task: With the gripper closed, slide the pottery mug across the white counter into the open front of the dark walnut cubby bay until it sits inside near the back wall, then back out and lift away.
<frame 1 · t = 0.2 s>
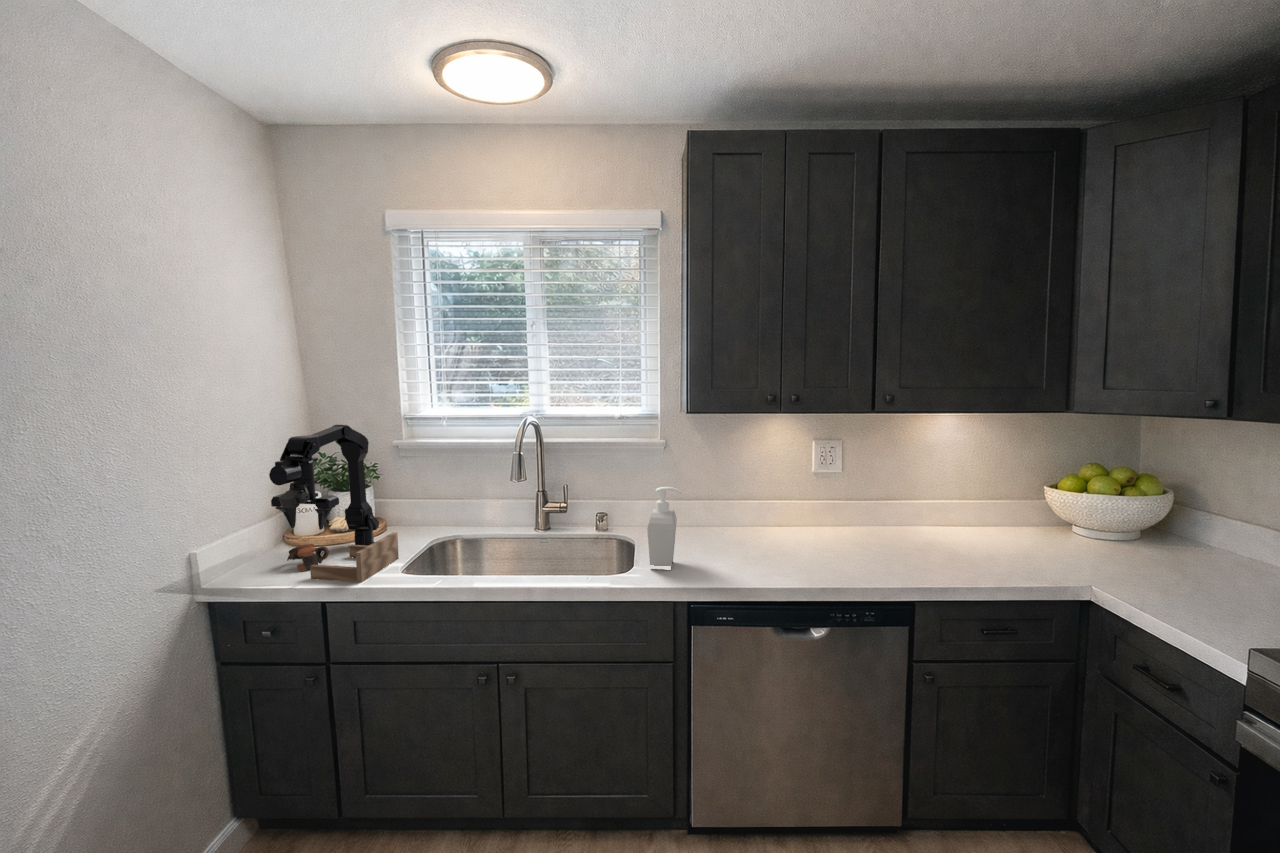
hand: (307, 528, 188), 14 cm above the worktop, tool pointing down, fingers open, 9 cm apart
soap bottle: (664, 566, 200), on the worktop
walnut bay: (354, 568, 196), on the worktop
pottery mug: (309, 566, 197), on the worktop
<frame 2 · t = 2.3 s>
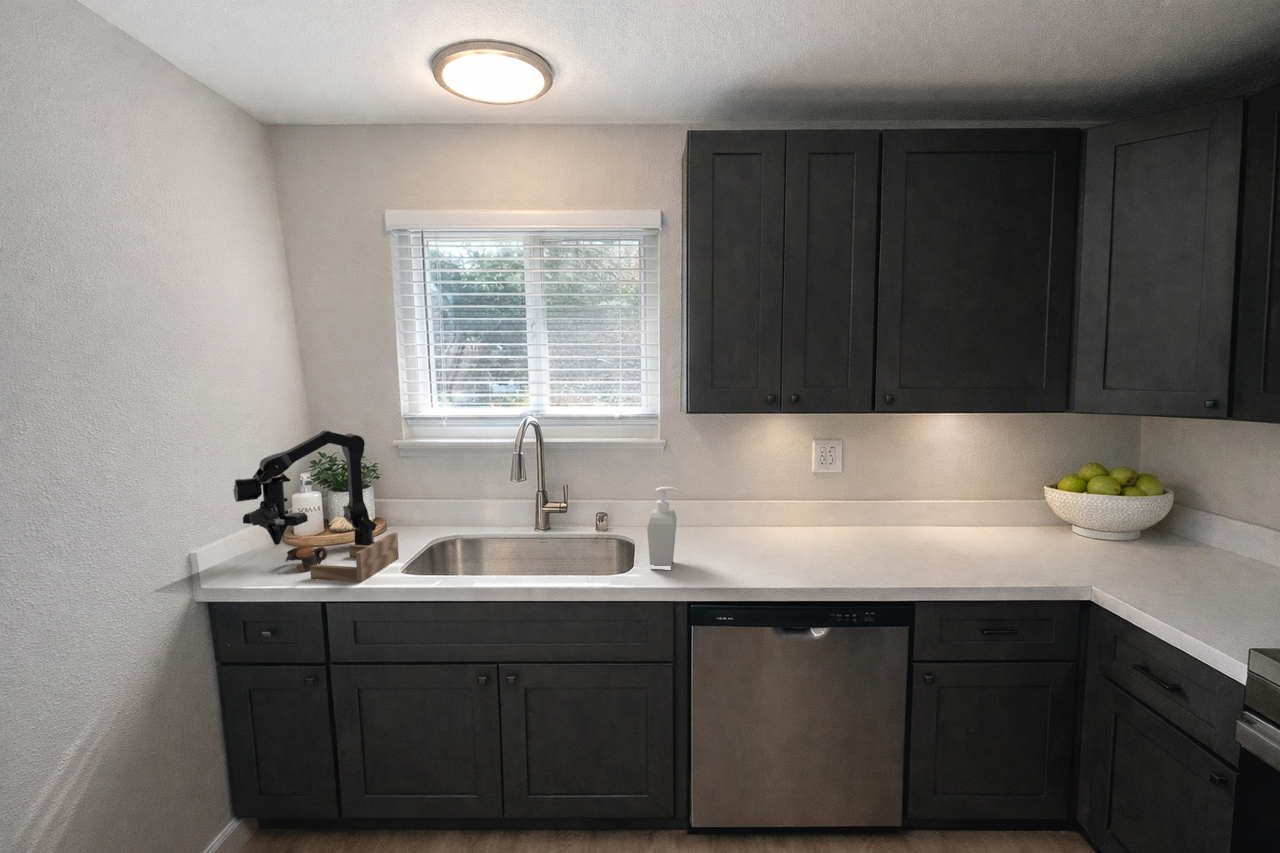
hand: (277, 544, 198), 6 cm above the worktop, tool pointing down, fingers closed
nothing on the worktop moved.
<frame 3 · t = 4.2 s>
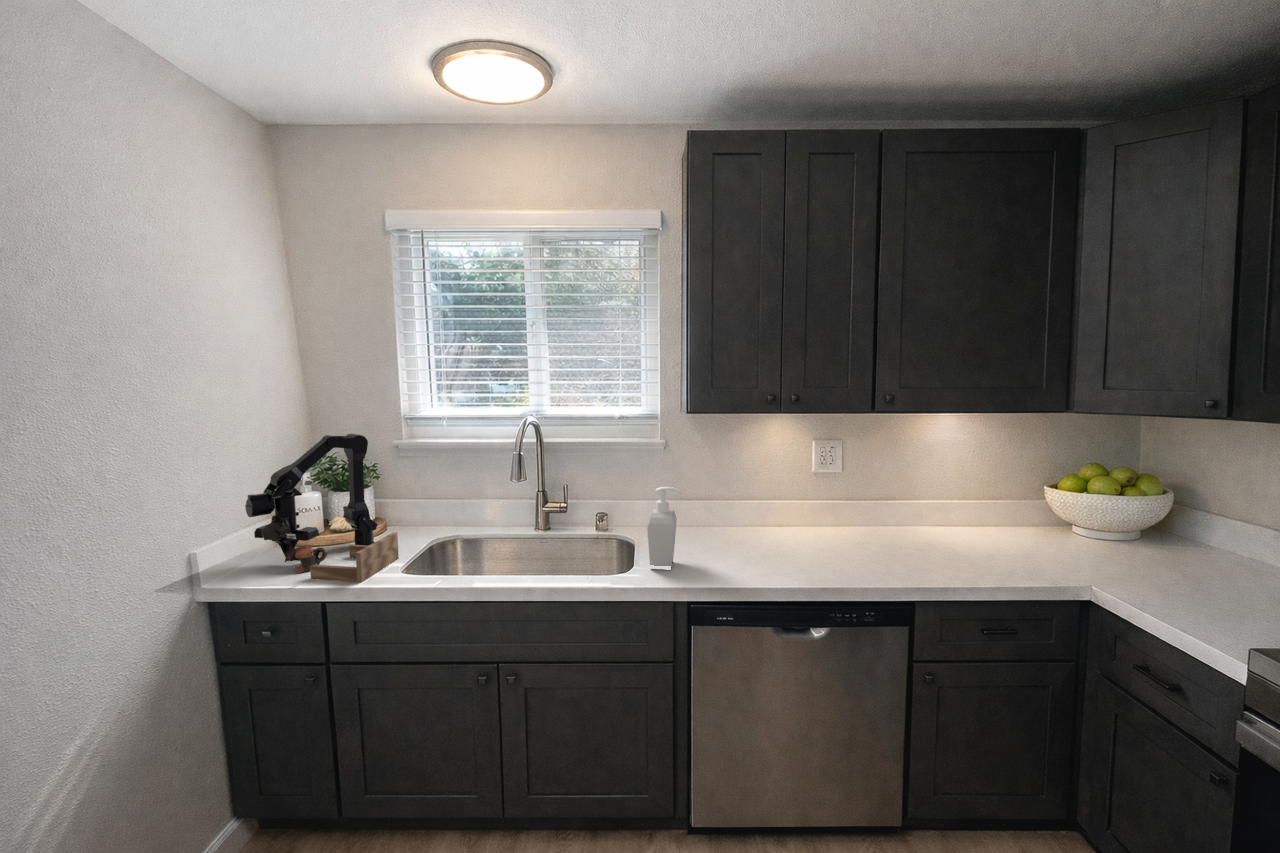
hand: (288, 558, 198), 2 cm above the worktop, tool pointing down, fingers closed
pottery mug: (307, 568, 196), on the worktop, touching gripper
everything else where it was.
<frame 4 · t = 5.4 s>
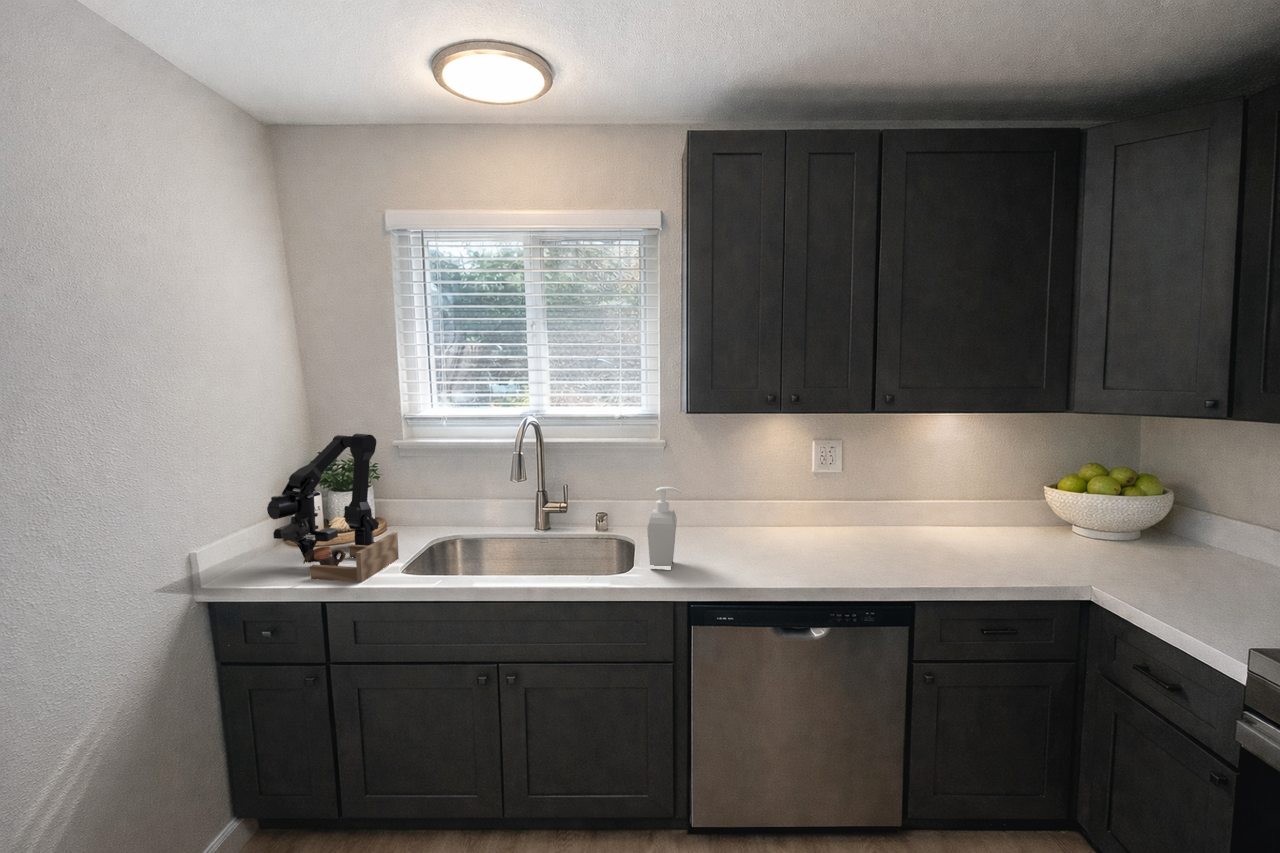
hand: (307, 559, 197), 2 cm above the worktop, tool pointing down, fingers closed
pottery mug: (325, 569, 195), on the worktop, touching gripper
everything else where it was.
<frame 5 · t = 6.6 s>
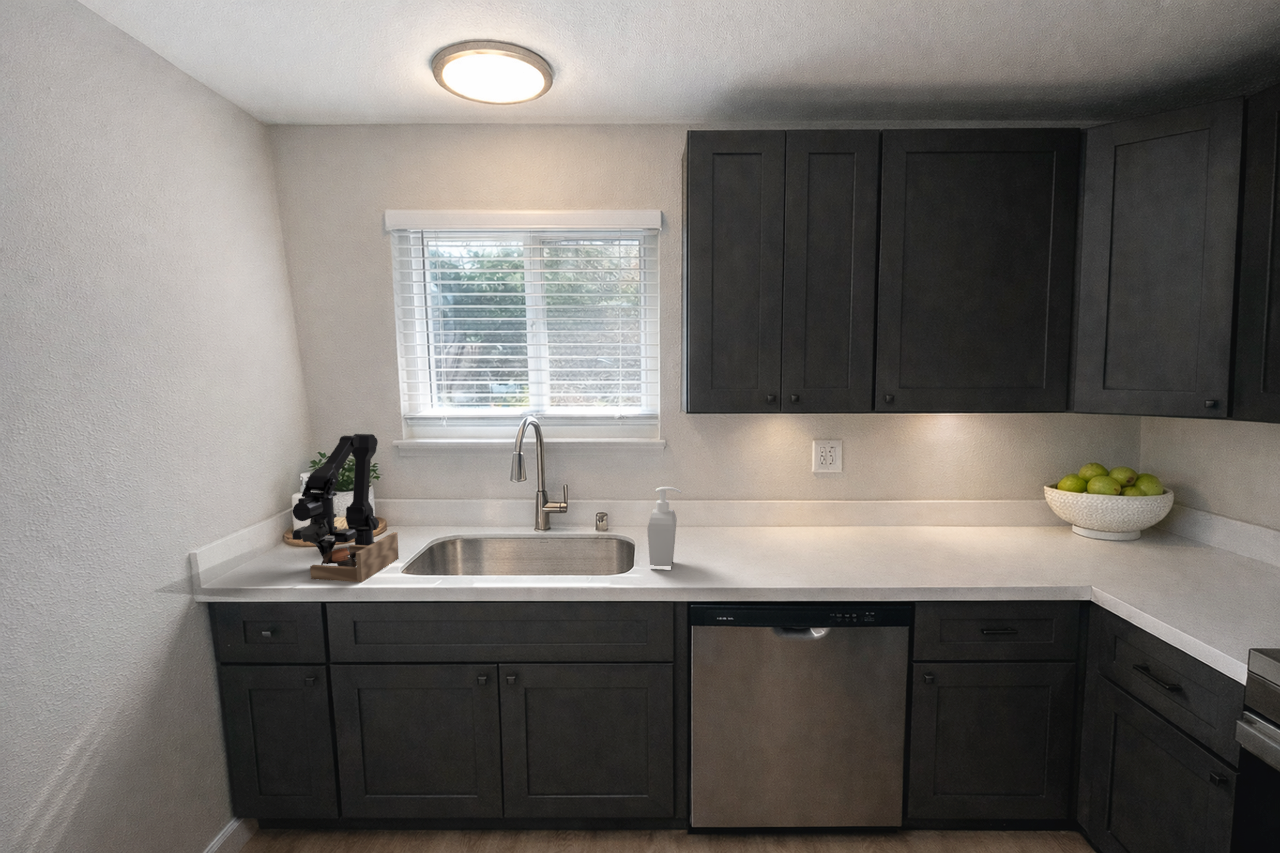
hand: (326, 560, 196), 2 cm above the worktop, tool pointing down, fingers closed
pottery mug: (343, 571, 193), on the worktop, touching gripper
everything else where it was.
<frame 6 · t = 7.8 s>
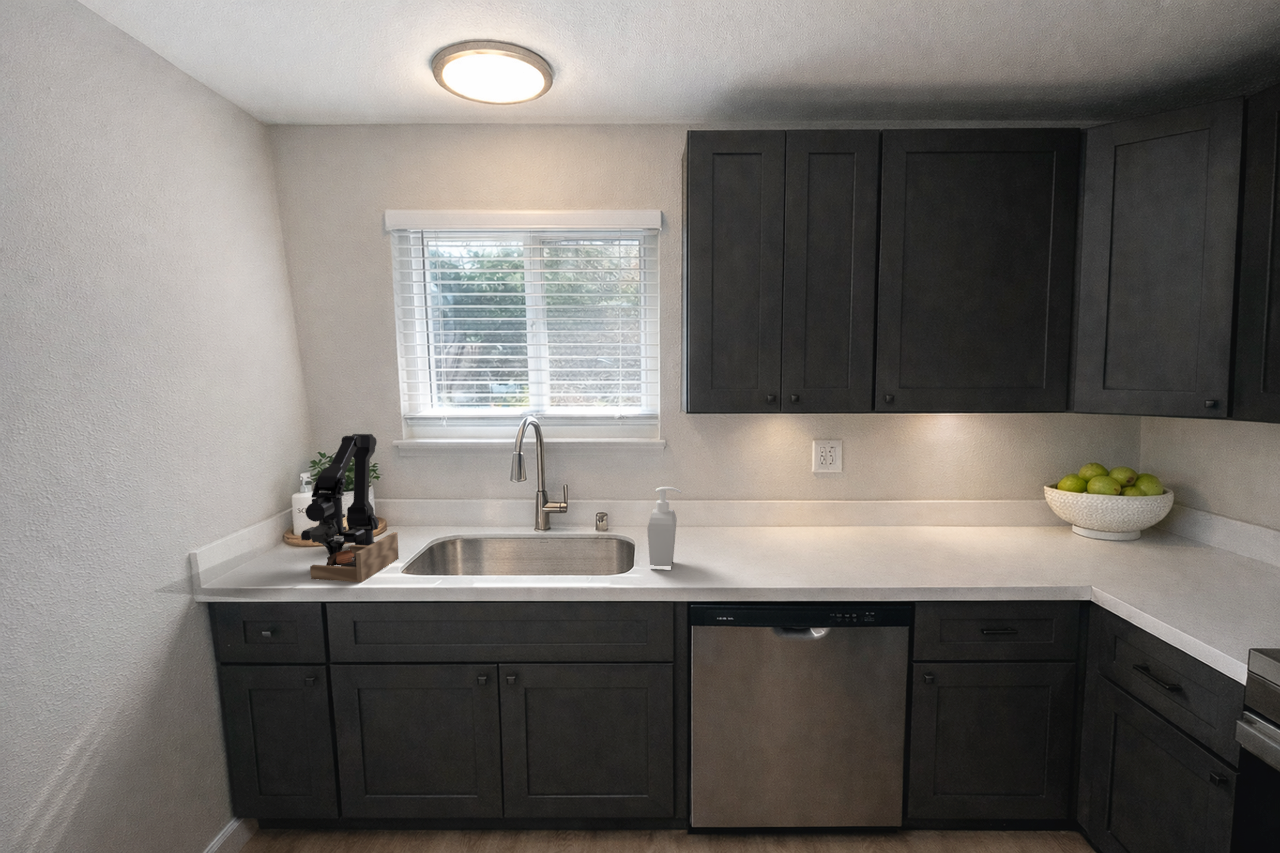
hand: (334, 561, 196), 2 cm above the worktop, tool pointing down, fingers closed
pottery mug: (347, 573, 192), on the worktop
everything else where it was.
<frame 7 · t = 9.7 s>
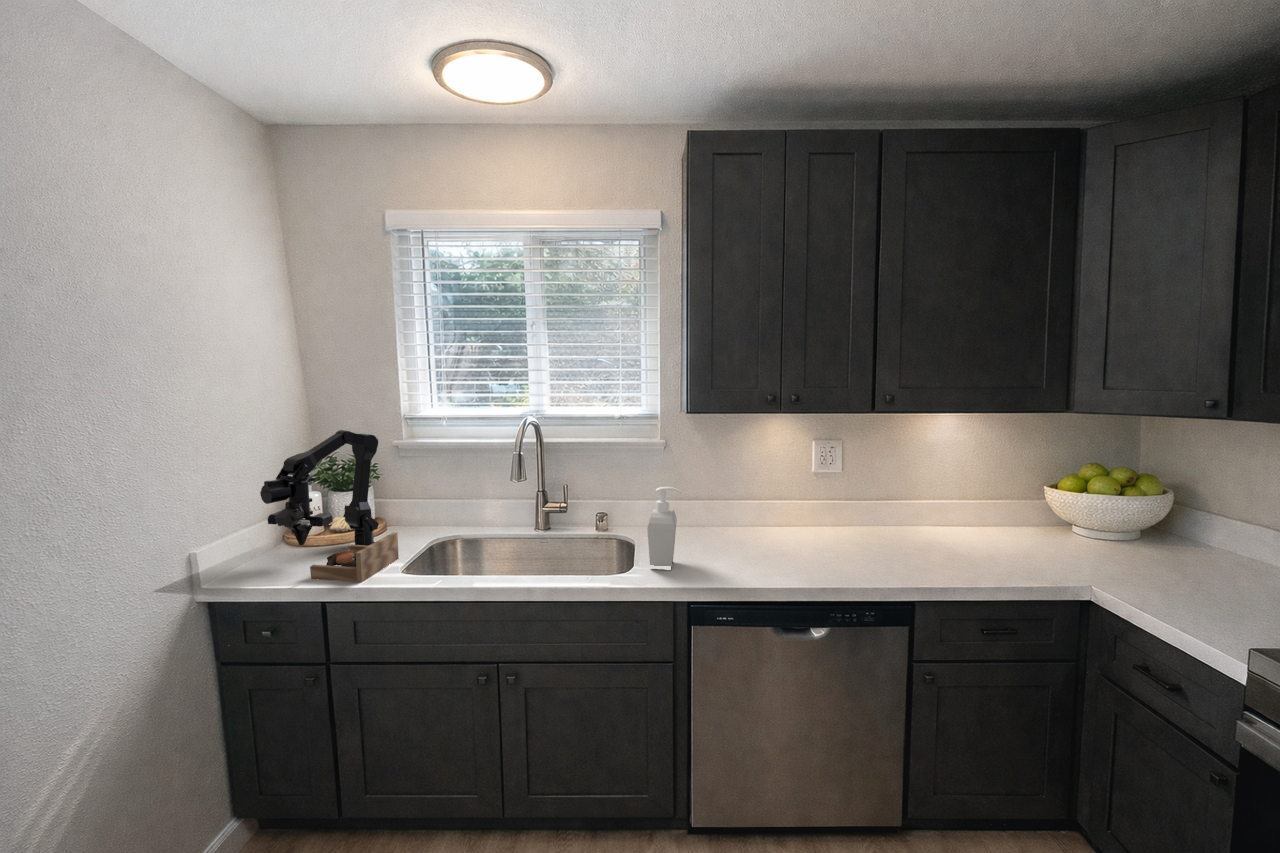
hand: (301, 545, 197), 7 cm above the worktop, tool pointing down, fingers closed
nothing on the worktop moved.
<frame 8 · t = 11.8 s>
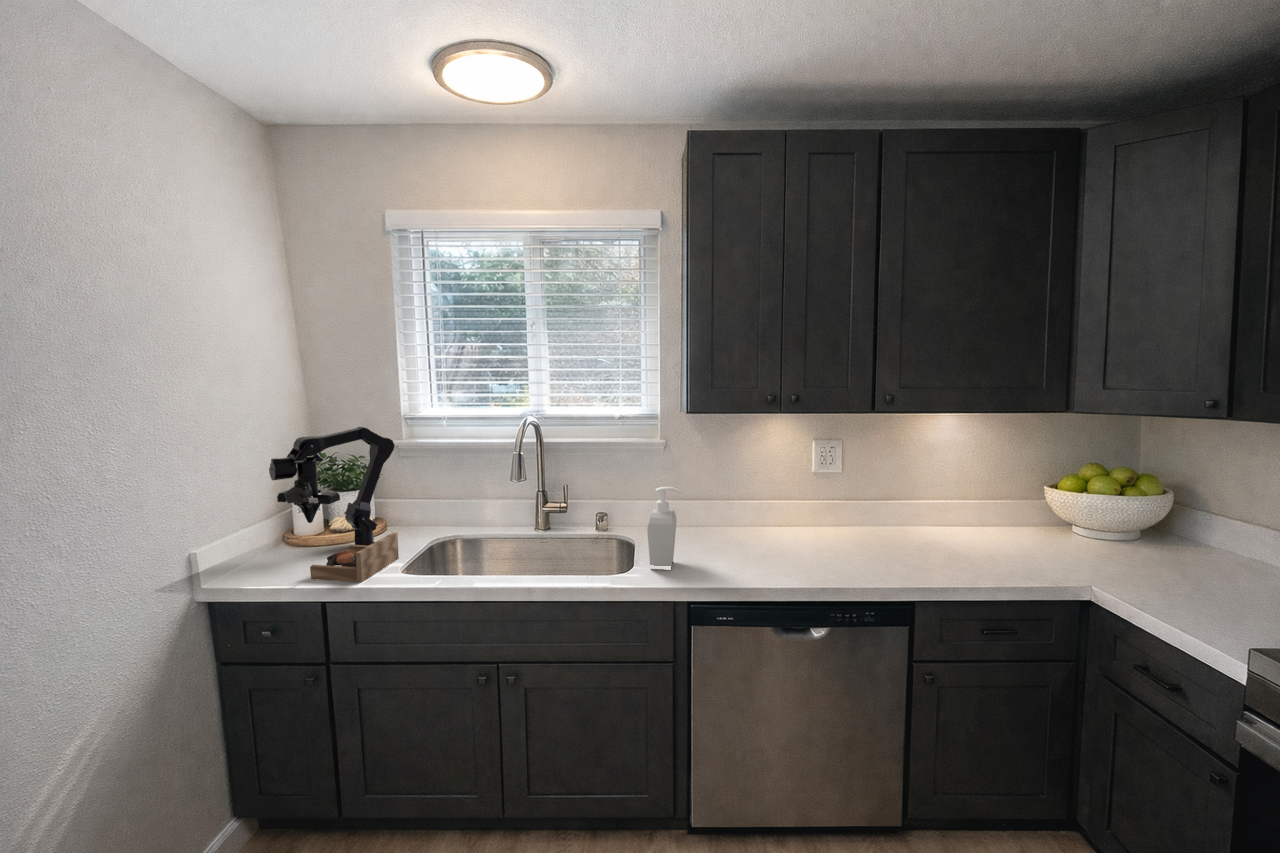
hand: (310, 522, 203), 12 cm above the worktop, tool pointing down, fingers closed
nothing on the worktop moved.
at the end: pottery mug inside the target area (4.2 cm from its centre), on the worktop; pottery mug tilted 0°; pottery mug moved 16.1 cm from its start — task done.
